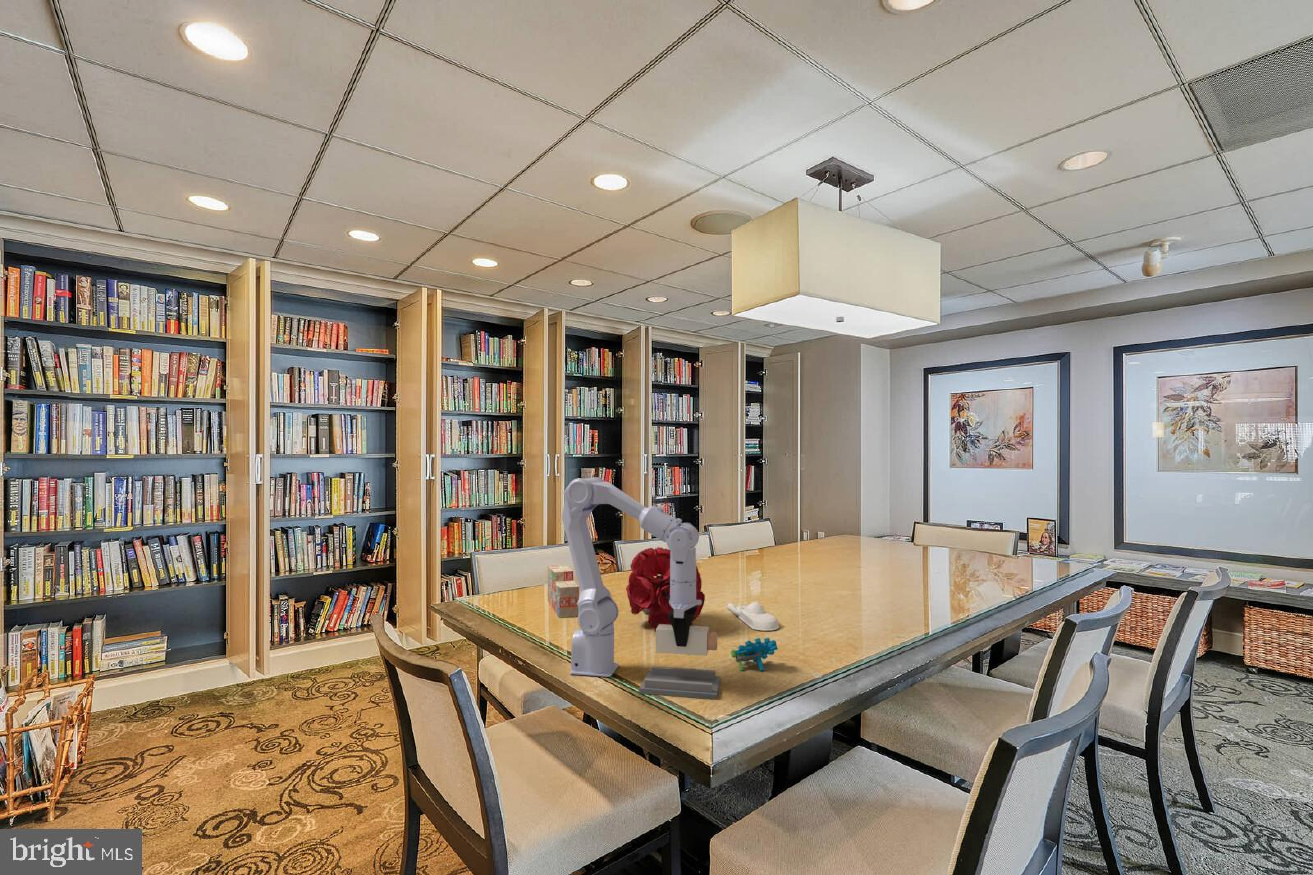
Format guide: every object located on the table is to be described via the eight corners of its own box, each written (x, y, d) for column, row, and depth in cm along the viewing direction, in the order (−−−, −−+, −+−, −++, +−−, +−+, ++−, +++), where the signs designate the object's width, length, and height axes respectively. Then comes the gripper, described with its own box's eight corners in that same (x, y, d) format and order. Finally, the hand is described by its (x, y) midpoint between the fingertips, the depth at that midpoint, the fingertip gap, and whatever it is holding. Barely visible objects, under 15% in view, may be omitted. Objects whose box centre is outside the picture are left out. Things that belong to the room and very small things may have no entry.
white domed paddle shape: (752, 634, 165) (752, 612, 165) (726, 614, 184) (726, 596, 184) (786, 631, 167) (786, 610, 167) (758, 612, 187) (757, 594, 187)
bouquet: (613, 642, 177) (640, 614, 153) (610, 566, 189) (634, 529, 165) (682, 641, 183) (718, 614, 159) (674, 567, 195) (706, 532, 171)
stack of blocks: (579, 616, 181) (579, 576, 182) (558, 618, 179) (559, 577, 180) (565, 600, 201) (566, 564, 202) (547, 602, 199) (547, 565, 200)
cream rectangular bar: (655, 652, 128) (656, 629, 129) (659, 646, 132) (659, 624, 133) (716, 656, 126) (716, 632, 126) (717, 650, 130) (717, 627, 130)
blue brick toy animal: (774, 652, 144) (777, 632, 137) (781, 676, 139) (785, 656, 132) (729, 659, 143) (730, 639, 136) (735, 684, 139) (736, 664, 132)
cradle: (639, 693, 123) (639, 681, 123) (648, 675, 133) (648, 664, 133) (716, 699, 120) (716, 687, 120) (720, 681, 130) (720, 669, 130)
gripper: (697, 588, 122) (697, 654, 122) (704, 574, 136) (704, 633, 136) (663, 586, 123) (663, 652, 123) (674, 573, 138) (674, 632, 137)
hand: (683, 642), depth 129 cm, fingers closed on cream rectangular bar, 4 cm apart
